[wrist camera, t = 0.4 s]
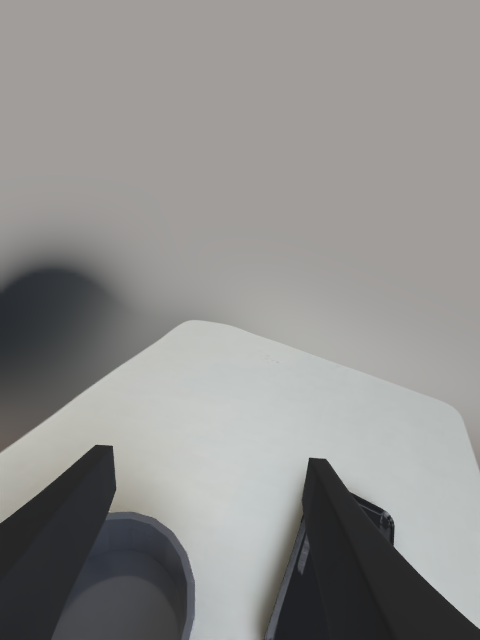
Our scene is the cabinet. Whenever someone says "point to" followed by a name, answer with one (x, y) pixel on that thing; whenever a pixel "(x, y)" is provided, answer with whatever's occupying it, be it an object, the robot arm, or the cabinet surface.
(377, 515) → the phone
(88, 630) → the holder
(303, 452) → the cabinet surface
